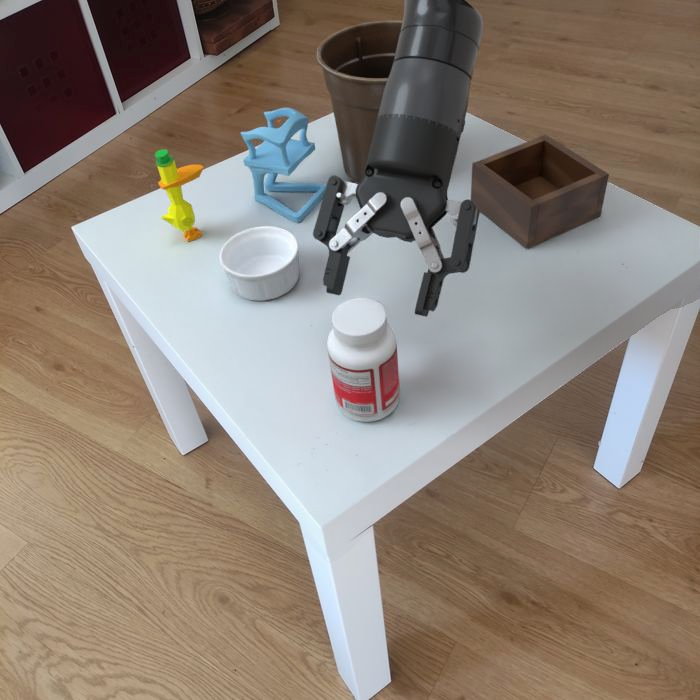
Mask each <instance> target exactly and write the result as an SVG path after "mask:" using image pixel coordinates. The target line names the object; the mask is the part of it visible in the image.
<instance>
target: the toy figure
mask: <svg viewBox="0 0 700 700" xmlns="http://www.w3.org/2000/svg"><path fill="white" fill-rule="evenodd" d="M154 158H155V160H156V161H155V166H157V170H158V172H159V176H160V180H159V181H158V182H157V184H158V186H159V187H160V189H161V190H162V191H165V192H166V194H167V197H168V199H169V200H170V204H169V206H168V208H167V213H166V214H163V215H162V216H159V217H160V219H162V220H163V221H165V222H167V223H168V224H169V225H171V226H172V227H174V228H175V229H177V230H178V231H181V232H183V234H182V237H183V238H184V239H185V240H186V241H187V242H188V243H189V242H191V241H195V240H198V239H199V238H201V237H202V236H203V232H202V231H201V230H200V229H199V228H198V227H197V226H194V224H195V222H196V217H195V212H194V209H193V205H192V203H189V202H188V201H187V200H185V199H184V196H183V189H182V186H184V185H186V184H188V183H190V182H193V181H194V180H195V181H196V179H199V178H200V176H201V174H202V173H203V170H204V166H203V165H201V164H194V163H193V164H188V165H184V166H181V167H177V165H176V160H175V157H174V156H173V155H172V154H169V151H168V149H165V148H162V149H159V150H157V151H156V152H155V153H154Z"/></svg>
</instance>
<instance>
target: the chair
mask: <svg viewBox="0 0 700 700" xmlns="http://www.w3.org/2000/svg"><path fill="white" fill-rule="evenodd" d="M263 114H264V117H265V119H266V122H267V126H260V127H256V128H254V129H251V130H249V131H241V132H240V136H241V137H242V140H243V141H244V143H245V144H246V146H247V149H248V155H247V156H245V158H244V159H243V165H244V167H247V168H248V169H249V170H250V172H251V175H252V182H253V192H254V201H257V202H258V203H261V204H263V205H265V206H266V207H268V208H269V209H271V210H274V211H275V212H277V213H278V214H280V215H281V216H283V217H285V218H286V219H288V220H290V221H292V222H294V223H301V222H302V221H303V220H304V219H305V218H306V217H307V216H308V215H309V213H310V212H311V211H312V210H313V209H314V208H315V207H316V206H317V205H318V204H319V203H320V201H321V200H323V196H324V193H325V189H326V186H327V183H321V182H285V181H284V182H283V181H276V180H277V178H278V175H283V176H287V177H289V176H290V175H292V173H294V171H296V169H297V168H298V167H299V165H300V164H301V163H302V162H303V161H304V160H305V159H306V158H308V157H309V156H310V155H312V153H314V151H315V150H316V144H315V142H313V141H312V142H311V141H309V140H308V137H307V131H308V126H309V117H307V116H306V115H304V114H303V113H301V112H300V111H299V110H297V109H295V108H291V107H281V108H278V109H274V110H271V111H264V112H263ZM281 117H284V118H285V117H286V118H288V119H286V121H285V122H284V123H283V124H282V125H281V126H280V127H277V128H275V124H274V120H275V119H278V118H281ZM298 132H300V134H299V135H300V136H299V140H298V139H293V138H292V137H294V135H296V134H297V133H298ZM251 140H262V141H263V142H261V143H260V145H259V146H257V147H255V145H254V143H253V142H252V141H251ZM266 175H267V176H266ZM265 176H266V178H265ZM265 191H269V192H282V193H283V192H286V193H289V192H290V193H291V192H292V193H293V192H296V193H297V192H298V193H300V192H302V193H303V192H306V193H307V192H308V193H310V192H311V193H312V192H313V193H314V195H312V197H311V198H310V199H309V200H308V201H307V202H306V203H305V204H304V205H303V206H302V207H301V208H300V210H298V211H297V212H295V211H293V210H292V209H290V208H289V207H287V206H286V205H284V204H283V203H282V202H280V201H279V200H277V199H275V198H274V197H272V196H271V195H269V194H267V193H265ZM315 192H316V193H315Z"/></svg>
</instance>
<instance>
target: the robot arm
mask: <svg viewBox="0 0 700 700" xmlns="http://www.w3.org/2000/svg"><path fill="white" fill-rule="evenodd" d="M403 6H404V7H403V16H402V21H403V23H402V27H401V32H400V36H399V40H398V44H397V48H396V53H395V57H394V61H393V65H392V69H391V72H390V75H389V77H388V80H387V82H386V85H385V88H384V92H383V96H382V100H381V104H380V108H379V113H378V117H377V121H376V125H375V130H374V134H373V138H372V142H371V147H370V151H369V155H368V159H367V164H366V171H365V175H364V177H363V179H362V180H361V182H360V183H359V184H358V183H356V182H352V181H348V180H344V179H343V178H341V177H339V176H338V175H335V174H334V175H331V176H330V177H329V178H328V179H327V183H326V185H327V186H326V189H325V193H324V196H323V198H322V199H321V200H322V201H321V203H320V207H319V210H318V214H317V217H316V220H315V224H314V227H313V232H312V236H313V238H314V240H317V241H319V242H320V243H322V244H323V245H324V246H326V247H327V249H328V256H327V261H326V265H325V269H324V273H323V278H322V282H323V286H325V287H326V293H327V294H330V295H334V296H335V295H336V296H341V295H342V293H343V289H344V285H345V281H346V276H347V272H348V268H349V264H350V259H351V256H349V255H348V254H349V253H350V252H351V251H352V250H353V249H354V248H356V247H357V246H358V245H359V244H360V243H362V242H363V241H366V240H367V239H369V238H370V236H371V235H373V234H374V235H376V236H379V237H382V238H386V239H392V238H397V239H399V240H401V241H403V242H407V243H413V242H415V243H416V244H417V247H418V248H419V250H420V251H421V254H422V256H423V258H424V260H425V263H426V265H427V268H428V269H427V271H426V272H425V271H424V272H423V275H422V279H421V283H420V288H419V292H418V296H417V300H416V304H415V308H414V315H416V316H421V317H426V318H428V316H429V314H430V312H435V311H436V309H437V307H438V305H439V300H440V296H441V292H442V288H443V285H444V280H445V278H446V277H447V276H449V275H452V274H459V273H461V274H465V273H466V272H468V271H469V269H470V265H471V261H472V256H473V250H474V244H475V239H476V234H477V229H478V224H479V217H480V213H481V212H480V211H479V208H478V207H477V205H476V204H475V203H474V202H473V201H471V199H464V200H462V201H458V200H449V198H448V190H449V186H450V183H451V178H452V173H453V169H454V165H455V161H456V157H457V153H458V149H459V146H460V140H461V136H462V134H463V132H464V129H465V125H466V116H467V112H468V105H469V99H470V90H471V84H472V78H473V75H474V70H475V66H476V63H477V58H478V54H479V51H480V47H481V44H482V38H483V32H484V21H483V17H482V15H481V13H480V12H479V11H478V10H477V9H476V8H475V6H473V4H471V3H470V2H468V1H467V0H404V4H403ZM353 198H356V200H357V203H358V205H359V206H358V207H359V208H360V209H359V211H357V212H356V213H354V215H353V216H352V217H350V219H348V220H347V221H346V222H345V224H344V227H343V228H342V229H341V230H340V231H338V229H339V226H340V223H341V219H342V216H343V212H344V209H345V206H348V205H349V204H350V203H351V201H352V199H353ZM447 214H449V215H450V222H451V224H452V225H454V226H455V228H456V229H455V232H454V240H453V244H452V249H451V255H450V257H445V256H444V254H443V252H442V248H441V245H440V243H439V240H438V237H437V235H436V233H435V230H434V227H435V225H436V224H438V223H439V222H440V221H441V220H442V219H443V218H444V217H446V215H447Z"/></svg>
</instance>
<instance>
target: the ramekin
mask: <svg viewBox="0 0 700 700" xmlns="http://www.w3.org/2000/svg"><path fill="white" fill-rule="evenodd" d="M299 247H300V246H299V242H298V239H297V238H296V236H295V234H294V233H292V232H291V231H289V230H287V229H285V228H282V227H279V226H271V225H261V226H255V227H251V228H247V229H244V230H241V231H239V232H237V233H236V234H234V235H233V236H231V237H230V238H228V240H226V242H225V243H224V244H223V245H222V247H221V249H220V251H219V255H218V259H219V263H220V265H221V267H222V269H223V270H224V272H225V274H226V277H227V279H228V282H229V284H230V287H231V289H232V290H233V291H234V292H235V294H236V295H238V296H239V297H241V298H243V299H246V300H250V301H257V302H258V301H261V302H263V301H269V300H273V299H277V298H280V297H282V296H283V295H285V294H287V293H288V292H290V291H291V290H292V289H293V288H294V287H295V286H296V284H297V283H298V280H299V276H300V263H299Z"/></svg>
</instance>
